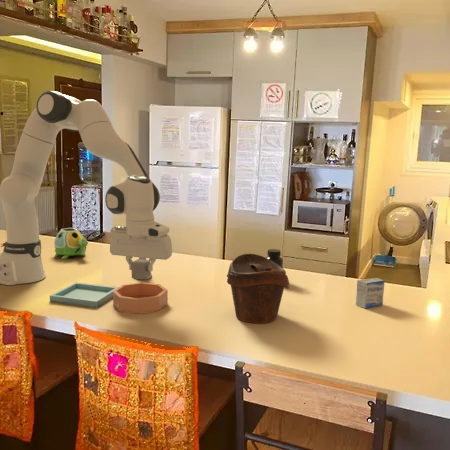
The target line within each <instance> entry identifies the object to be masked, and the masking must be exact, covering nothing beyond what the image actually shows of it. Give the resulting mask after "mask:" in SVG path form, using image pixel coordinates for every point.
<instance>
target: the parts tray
mask: <svg viewBox="0 0 450 450" xmlns="http://www.w3.org/2000/svg"><path fill="white" fill-rule="evenodd" d="M118 287H119V286H109V285H101V284H91V283H85V282H83V283H82V282H73V283H72V284H70V285H67V286H66V287H64V288H61V289H60V290H58V291H56V292H54V293H52V294H50V295H49V302H50V303H57V304H59V303H60V304H66V305H74V306H82V307H89V308H99V307H100V306H102V305H104V304H105V303H106V302H108V301H110V300H111V299H113V291H114V290H115V289H117V288H118Z"/></svg>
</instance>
